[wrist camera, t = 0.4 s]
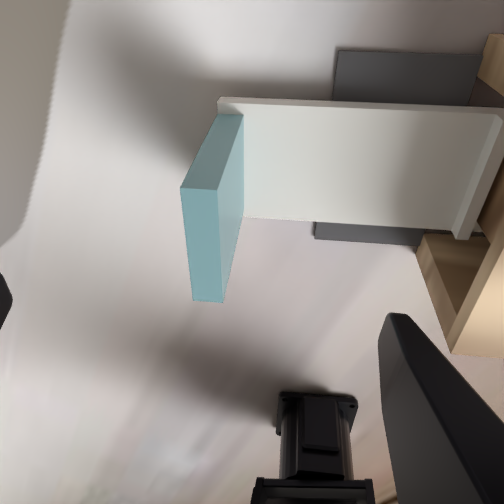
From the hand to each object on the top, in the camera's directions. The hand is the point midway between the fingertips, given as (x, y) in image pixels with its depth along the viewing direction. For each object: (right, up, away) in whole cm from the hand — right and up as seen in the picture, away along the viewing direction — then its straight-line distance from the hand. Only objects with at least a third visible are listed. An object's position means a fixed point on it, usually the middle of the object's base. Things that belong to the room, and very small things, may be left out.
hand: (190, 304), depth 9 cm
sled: (+9, +5, +10) cm, 15 cm away
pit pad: (+8, +6, +11) cm, 15 cm away
